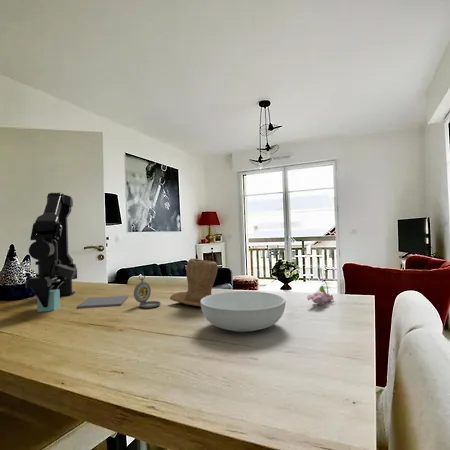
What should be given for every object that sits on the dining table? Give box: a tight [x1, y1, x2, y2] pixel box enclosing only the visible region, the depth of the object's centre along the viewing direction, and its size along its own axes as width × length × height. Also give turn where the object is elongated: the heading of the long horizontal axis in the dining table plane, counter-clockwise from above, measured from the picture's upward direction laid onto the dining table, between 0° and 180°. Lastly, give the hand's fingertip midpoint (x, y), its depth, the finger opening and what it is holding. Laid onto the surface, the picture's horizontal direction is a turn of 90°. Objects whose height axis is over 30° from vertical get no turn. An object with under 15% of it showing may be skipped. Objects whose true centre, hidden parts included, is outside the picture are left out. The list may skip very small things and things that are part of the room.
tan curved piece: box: [169, 258, 219, 307], centre depth 106 cm, size 15×12×15 cm
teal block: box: [36, 289, 61, 313], centre depth 106 cm, size 5×5×6 cm
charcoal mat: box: [76, 295, 129, 309], centre depth 114 cm, size 14×14×1 cm
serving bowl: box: [200, 290, 287, 333], centre depth 80 cm, size 21×21×7 cm
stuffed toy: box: [306, 285, 334, 306], centre depth 101 cm, size 6×6×15 cm
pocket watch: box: [133, 274, 161, 309], centre depth 106 cm, size 8×8×10 cm
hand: (48, 305), depth 106 cm, fingers closed on teal block, 5 cm apart
